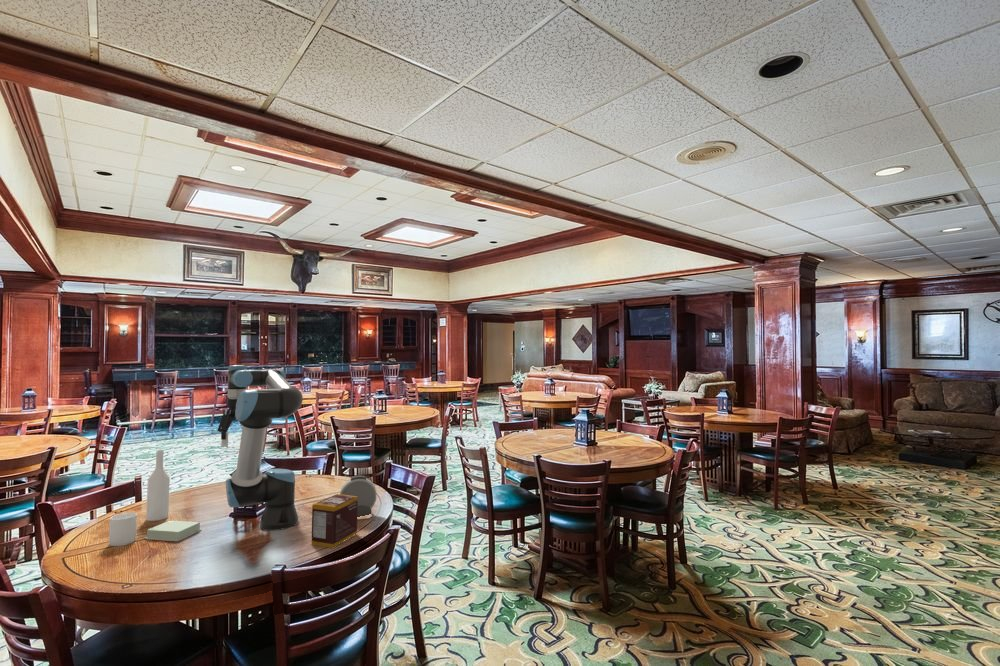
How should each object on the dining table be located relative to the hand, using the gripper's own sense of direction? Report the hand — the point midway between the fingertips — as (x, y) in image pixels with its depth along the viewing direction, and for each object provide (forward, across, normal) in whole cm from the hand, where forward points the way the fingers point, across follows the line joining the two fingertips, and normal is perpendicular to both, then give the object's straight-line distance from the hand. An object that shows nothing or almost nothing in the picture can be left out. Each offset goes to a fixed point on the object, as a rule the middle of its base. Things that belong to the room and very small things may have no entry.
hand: (235, 443), depth 223 cm
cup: (+32, +37, -19) cm, 52 cm away
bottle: (+32, +12, -28) cm, 44 cm away
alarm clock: (+32, -5, +59) cm, 67 cm away
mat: (+32, +28, -5) cm, 43 cm away
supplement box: (+32, +22, +62) cm, 73 cm away
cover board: (+31, +28, -5) cm, 42 cm away
